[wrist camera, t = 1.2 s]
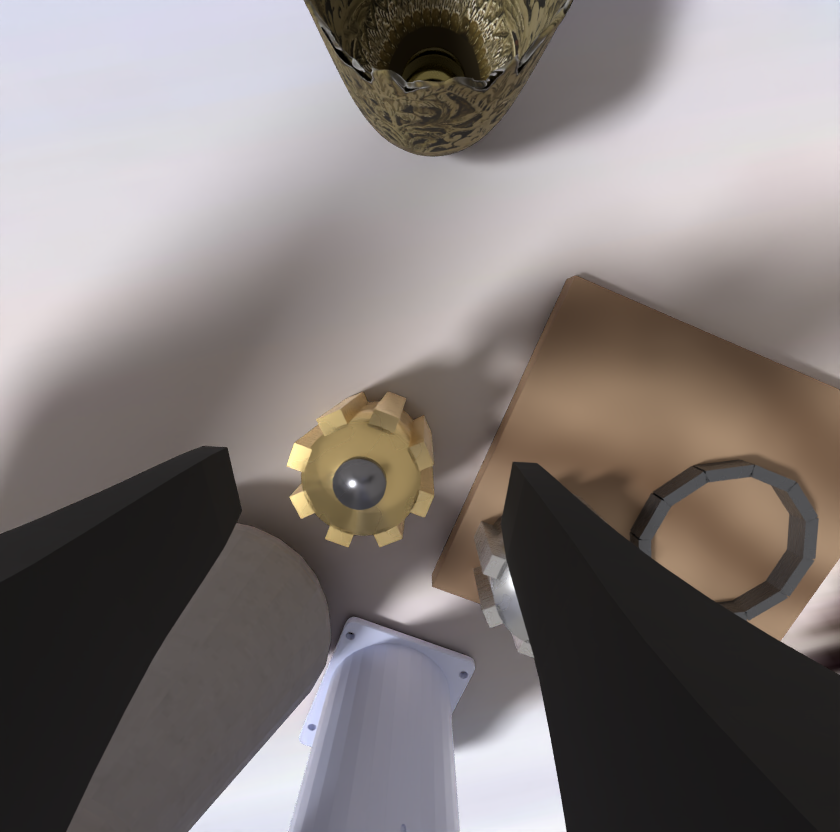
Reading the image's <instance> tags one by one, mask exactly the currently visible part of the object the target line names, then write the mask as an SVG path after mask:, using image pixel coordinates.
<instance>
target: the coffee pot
mask: <svg viewBox="0 0 840 832" xmlns="http://www.w3.org/2000/svg"><path fill="white" fill-rule="evenodd" d="M330 643H331V627H330V617H329V609H328V605H327V600H326V598H325V595H324V593H323V590H322V588H321V585H320V583H319V580H318V578H317V576H316V575H315V573H314V572H313V571H312V569H311V568H310V567H309V565H308V564H307V563H306V562H305V560H304V559H303V558H302V556H301V555H299V554H298V553H297V552H296V551H294V550H293V549H292V548H291V547H289V546H288V545H287V544H286V543H284V542H283V541H282V540H281V539H279V538H277V537H275V536H273V535H271V534H269V533H267V532H264V531H262V530H260V529H258V528H256V527H253V526H249V525H244V524H239V523H236V525H235V527H234V529H233V531H232V533H231V535H230V537H229V539H228V541H227V543H226V545H225V547H224V549H223V551H222V552H221V554H220V555H219V557H218V558H217V560H216V562H215V563H214V565H213V566H212V568H211V569H210V571H209V573H208V574H207V576H206V577H205V579H204V580H203V582H202V583H201V585H200V586H199V588H198V589H197V591H196V592H195V594H194V595H193V597H192V599H191V600H190V602H189V603H188V605H187V606H186V608H185V609H184V611H183V612H182V614H181V615H180V617H179V618H178V620H177V621H176V623H175V625H174V626H173V628H172V629H171V631H170V632H169V634H168V635H167V637H166V638H165V640H164V642H163V643H162V645H161V647H160V648H159V650H158V652H157V653H156V655H155V657H154V658H153V660H152V662H151V664H150V666H149V667H148V669H147V671H146V673H145V675H144V677H143V679H142V680H141V682H140V684H139V686H138V688H137V690H136V692H135V694H134V695H133V697H132V699H131V701H130V703H129V705H128V707H127V708H126V710H125V712H124V714H123V716H122V718H121V720H120V722H119V724H118V726H117V728H116V730H115V732H114V734H113V736H112V738H111V740H110V742H109V744H108V746H107V748H106V750H105V752H104V754H103V756H102V758H101V760H100V762H99V764H98V766H97V768H96V770H95V772H94V774H93V776H92V778H91V780H90V782H89V784H88V787H87V789H86V791H85V793H84V795H83V797H82V799H81V801H80V804H79V806H78V808H77V810H76V812H75V814H74V816H73V818H72V821H71V823H70V825H69V827H68V829H67V831H66V832H188V831H189V830H190V829H191V828H192V827H193V825H194V824H195V823H196V822H197V821H198V820H199V819H200V817H201V816H202V815H203V814H204V813H205V812H206V811H207V809H208V808H209V807H210V806H211V805H212V804H213V803H214V801H215V800H216V799H217V798H218V797H219V796H220V795H221V793H222V792H223V791H224V790H225V789H226V788H227V786H228V785H229V784H230V783H231V782H232V781H233V780H234V778H235V777H236V776H237V775H238V774H239V773H240V772H241V770H242V769H243V768H244V767H245V766H246V765H247V764H248V762H249V761H250V760H251V759H252V758H253V757H254V756H255V754H256V753H257V752H258V751H259V750H260V749H261V748H262V746H263V745H264V744H265V743H266V742H267V741H268V740H269V738H270V737H271V736H272V735H273V734H274V733H275V732H276V730H277V729H278V728H279V727H280V726H281V725H282V724H283V722H284V721H285V720H286V719H287V718H288V717H289V716H290V714H291V713H292V712H293V711H294V710H295V709H296V707H297V706H298V705H299V704H300V703H301V702H302V701H303V699H304V698H305V697H306V696H307V695H308V694H309V693H310V691H311V690H312V688H313V686H314V685H315V683H316V681H317V679H318V678H319V676H320V674H321V672H322V671H323V669H324V667H325V665H326V661H327V657H328V652H329V647H330Z"/></svg>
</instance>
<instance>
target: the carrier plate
mask: <svg viewBox="0 0 840 832" xmlns="http://www.w3.org/2000/svg"><path fill="white" fill-rule="evenodd" d="M737 459H739V460H743V461H746V462H749V463H752V464H754V465H757V466H759V467H762V468H764V469H767V470H769V471H772V472H774V473H777V474H779V475H781V476H784V477H786V478H789V479H791V480H794V481H796V482H797V483H798V484H799V486H800V488H801V489H802V491H803V492H804V494H805V496H806V497H807V499H808V500H809V502H810V504H811V505H812V507H813V509H814V510H815V512H816V513H817V515H818V517H817V518H819V522H818V534H817V546H816V558H815V559H813V560H815V561H814V562H813V564H812V565H811V567H810V568H809V569H808V571H807V572H806V574H805V575H804V577H803V578H802V579H801V581H800V582H799V584H798V585H797V587H796V588H795V590H794V591H793V592H792V594H791V595H790V596H787V595H786V596H787V597H788V598H787V599H785V600H784V601H782V602H780V603H778V604H777V605H775V606H773V607H772V608H770V609H768V610H766V611H765V612H763V613H761V614H760V615H758V616H756V617H754V618H753V619H751V620H747V622H749V623H751V624H752V625H754V626H756V627H757V628H759V629H761V630H762V631H764V632H766V633H767V634H769V635H770V636H772V637H774V638H775V639H777V640H779V641H781V640H782V638H783V637H784V635H785V634H786V633H787V631H788V630H789V628H790V627H791V626H792V624H793V623H794V621H795V620H796V619H797V617H798V616H799V614H800V613H801V612H802V610H803V609H804V607H805V606H806V605H807V603H808V602H809V600H810V599H811V598H812V596H813V595H814V593H815V592H816V590H817V589H818V588H819V586H820V585H821V583H822V582H823V581H824V579H825V578H826V576H827V575H828V574H829V572H830V571H831V569H832V568H833V567H834V565H835V564H836V562H837V561H838V560H839V558H840V390H839V389H837V388H835V387H832V386H830V385H828V384H826V383H823V382H821V381H819V380H816V379H814V378H812V377H809V376H807V375H805V374H802V373H800V372H798V371H796V370H793V369H791V368H789V367H786V366H784V365H782V364H779V363H777V362H775V361H772V360H770V359H768V358H765V357H763V356H761V355H759V354H756V353H754V352H752V351H749V350H747V349H745V348H742V347H740V346H738V345H735V344H733V343H731V342H729V341H726V340H724V339H722V338H719V337H717V336H715V335H712V334H710V333H708V332H705V331H703V330H701V329H698V328H696V327H694V326H692V325H689V324H687V323H685V322H682V321H680V320H678V319H675V318H673V317H671V316H668V315H666V314H664V313H662V312H659V311H657V310H655V309H652V308H650V307H648V306H645V305H643V304H641V303H638V302H636V301H634V300H632V299H629V298H627V297H625V296H622V295H620V294H618V293H615V292H613V291H611V290H608V289H606V288H604V287H601V286H599V285H597V284H595V283H592V282H590V281H588V280H585V279H583V278H581V277H578V276H576V275H575V276H573V277H571V278H568V279H567V280H566V282H565V284H564V286H563V288H562V291H561V293H560V295H559V297H558V299H557V302H556V304H555V306H554V308H553V310H552V313H551V315H550V317H549V319H548V321H547V323H546V326H545V328H544V330H543V332H542V334H541V337H540V339H539V341H538V343H537V345H536V348H535V350H534V352H533V354H532V356H531V359H530V361H529V363H528V365H527V367H526V369H525V372H524V374H523V376H522V378H521V380H520V383H519V385H518V387H517V389H516V391H515V394H514V396H513V398H512V400H511V402H510V405H509V407H508V409H507V411H506V413H505V416H504V418H503V420H502V422H501V424H500V426H499V429H498V431H497V433H496V435H495V437H494V440H493V442H492V444H491V446H490V448H489V451H488V453H487V455H486V457H485V459H484V462H483V464H482V466H481V468H480V470H479V472H478V475H477V477H476V479H475V481H474V483H473V486H472V488H471V490H470V492H469V494H468V497H467V499H466V501H465V503H464V505H463V508H462V510H461V512H460V514H459V516H458V518H457V521H456V523H455V525H454V527H453V529H452V532H451V534H450V536H449V538H448V540H447V543H446V545H445V547H444V549H443V551H442V554H441V556H440V558H439V560H438V562H437V564H436V567H435V569H434V571H433V573H432V587H435V588H437V589H440V590H443V591H446V592H449V593H451V594H454V595H457V596H460V597H462V598H465V599H468V600H471V601H474V602H476V603H479V604H481V603H480V599H479V594H478V590H477V585H476V580H475V576H474V571H473V569H474V568H477V567H479V566H481V564H480V561H479V557H478V553H477V549H476V545H475V541H474V535H475V533H476V531H477V529H478V527H479V525H480V523H481V521H483V522H485V523H488V524H491V525H493V524H494V523H495V522H496V521H497V520H498V519H499V518H500V517H501V516H502V514H503V509H504V504H505V499H506V494H507V489H508V484H509V478H510V473H511V468H512V463H513V462H530V463H538V464H539V465H540V466H542V467H543V468H544V469H545V470H546V471H547V472H549V473H550V474H551V475H552V476H553V477H554V478H555V479H557V480H558V481H559V482H560V483H561V484H562V485H563V486H564V487H566V488H567V489H568V490H569V491H570V492H571V493H572V494H575V495H577V496H580V497H581V498H582V499H583V500H584V501H585V502H586V503H587V504H588V505H589V506H590V507H591V508H592V509H593V510H594V511H595V512H597V513H598V514H599V515H600V516H601V517H602V518H603V519H604V520H605V521H606V522H607V523H608V524H609V525H610V526H611V527H612V528H613V529H615V530H616V531H617V532H618V533H620V534H621V535H622V536H623V537H625V538H626V539H627V540H629V541H630V532H631V531H630V529H631V528H632V526H633V524H634V522H635V521H636V519H637V517H638V515H639V514H640V512H641V510H642V508H643V507H644V505H645V503H646V501H647V499H648V498H649V496H650V494H651V493H652V494H654V493H653V491H654V490H656V489H657V488H659V487H660V486H662V485H663V484H665V483H666V482H668V481H669V480H671V479H672V478H674V477H675V476H677V475H678V474H680V473H681V472H683V471H685V470H686V469H688V468H689V467H691V466H692V467H693V465H699V464H707V463H714V462H722V461H730V460H737ZM654 495H655V494H654ZM788 525H789V513H788V511H787V510H786V508H785V507H784V505H783V504H782V502H781V500H780V499H779V497H778V496H777V494H776V493H775V491H774V489H773V488H772V486H771V485H769V484H767V483H764V482H762V481H759V480H757V479H754V478H752V477H747V478H739V479H731V480H724V481H716V482H708V483H706V484H705V485H703V486H702V487H700V488H699V489H697V490H696V491H694V492H693V493H691V494H690V495H688V496H687V497H685V498H683V499H682V500H680V501H679V502H677V503H676V504H674V505H673V506H671V508H670V510H669V511H668V513H667V515H666V516H665V518H664V520H663V522H662V523H661V525H660V527H659V528H658V530H657V532H656V533H655V535H654V537H653V539H652V540H651V558H652V559H654V560H655V561H656V562H658V563H659V564H661V565H662V566H663V567H665V568H666V569H668V570H669V571H671V572H672V573H673V574H675V575H676V576H678V577H679V578H681V579H682V580H684V581H685V582H687V583H688V584H690V585H691V586H692V587H694V588H695V589H697V590H698V591H700V592H701V593H703V594H704V595H706V596H707V597H709V598H710V599H712V600H714V601H715V602H724V601H732V600H734V599H735V598H737V597H739V596H740V595H742V594H744V593H746V592H747V591H749V590H751V589H752V588H754V587H756V586H757V585H759V584H761V583H762V582H764V581H766V579H767V578H768V576H769V575H770V573H771V572H772V570H773V569H774V567H775V566H776V565H777V563H778V562H779V560H780V559H781V557H782V556H783V554H784V553H785V551H786V550H787V540H788Z"/></svg>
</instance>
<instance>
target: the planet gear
mask: <svg viewBox="0 0 840 832" xmlns="http://www.w3.org/2000/svg"><path fill="white" fill-rule="evenodd" d="M405 401H406V398H404V397H402V396H399V395H396V394H394V393H391V392H389V391H388V392H387V393H386V394H385V395H384V397H383V398H382V399H381V401H380V402H377V401H375V402H368V401H367V399H366V396H365V394H364V392H361V393H358V394H356V395H354V396H351V397H349V398H347V399H345V400H343V401H342V402H341V403H339V404H338V405H336V406H335V407H333V408H332V409H331V410H329V411H328V412H326V413H325V414H323V415H322V416H320V417H319V418H318V419H316V420H317V422H318V425H317V426H316V427H315V428H313V429H312V430H311V431H309V432H308V433H307V434H305V435H304V436H303V437H301V438H300V439H299V440H297V441H296V442H295V443H294V445H293V448H292V451H291V454H290V457H289V460H288V463H287V467H290V468H292V469H295V470H298V471H300V472H302V473H301V482H302V483H301V484H300V485H299V487H298V488H297V489H296V490H295V491H294V492H293V493H292V494H291V496H290V499H291V501H292V503H293V505H294V507H295V509H296V510H297V512H298V514H299V516H300V518H301V519H302V518H304V517H307V516H309V515H312V514H314V513H315V514H316V515H317V516H318V517H319V518H320V519H321V520H322V521H323V522H325V523H326V524H327V525H329V526H330V527H329V530H328V532H327V535H326V538H325V539H326V540H329V541H331V542H334V543H337V544H340V545H342V546H345V547H348V548H349V545H350V543H351V540H352V538H353V535H360V536H366V535H374V537H375V539H376V541H377V543H378V545H379V547H382V546H385V545H388V544H390V543H393V542H395V541H398V540H401V539H403V531H404V522H405V518H406V517H407V516H408V515H409V514H410V513H413V514H416V515H418V516H421V517H424V518H425V516H426V514H427V512H428V509H429V507H430V505H431V502H432V500H433V498H434V483H433V468H432V466H433V465H434V457H433V445H432V433H431V430H430V428H429V426H428V424H427V421H426V419H425V417H424V415H423V416H421V417H419V418H416V419H414V420H413V419H412V418H411V417H410V416H409V415H408V414H407V413H406V412H405V411H404V410H403V407H404V404H405Z"/></svg>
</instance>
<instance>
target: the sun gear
mask: <svg viewBox="0 0 840 832" xmlns="http://www.w3.org/2000/svg"><path fill="white" fill-rule="evenodd" d="M573 495H575V494H573ZM575 496H576V497H577V498H578V499H579V500H580V501H581V502H582V503H584V504H585V505H586V506H587V507H588V508H589V509H591V510H592V511H593V512H594V513H595V514H596V515H598V516H599V517H600V518H601V519H602V520H604V519H603V518H602V517H601V516H600V515H599V514H598V513H597V512H595V511H594V510H593V509H592V508H591V507H590V506H589V505H588V504H587V503H586V502H585V501H584V500H583V499H582V498H581V497H580V496H577V495H575ZM501 520H502V516H501V517H500V518H499V519H498V520H497V521H496V522H495V523H494V524H493V525H491V524H488V523H485V522H483V521H481V523H480V525H479V527H478V529H477V531H476V533H475V535H474V541H475V545H476V549H477V553H478V557H479V561H480V564H481V566H479V567H477V568H474V569H473V571H474V576H475V580H476V585H477V590H478V594H479V599H480V603H481V608H482V611H483V614H484V616H485V618H486V620H487V622H488V625H489V627H490V628H492V627H495V626H498V625H501V624H504V625H505V626H506V627H507V629H508V630H509V631H510V632H511V633H512V635H513V639H514V642H515V645H516V649H517V652H518V653H521V654H524V655H526V656H529V657H532V658H534V656H533V652H532V649H531V645H530V642H529V638H528V635H527V631H526V628H525V624H524V621H523V617H522V614H521V610H520V607H519V603H518V600H517V596H516V593H515V589H514V586H513V582H512V579H511V575H510V572H509V568H508V564H507V561H506V555H505V549H504V542H503V536H502V529H501ZM604 521H605V520H604ZM605 522H606V521H605ZM606 523H607V522H606ZM607 524H608V523H607Z"/></svg>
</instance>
